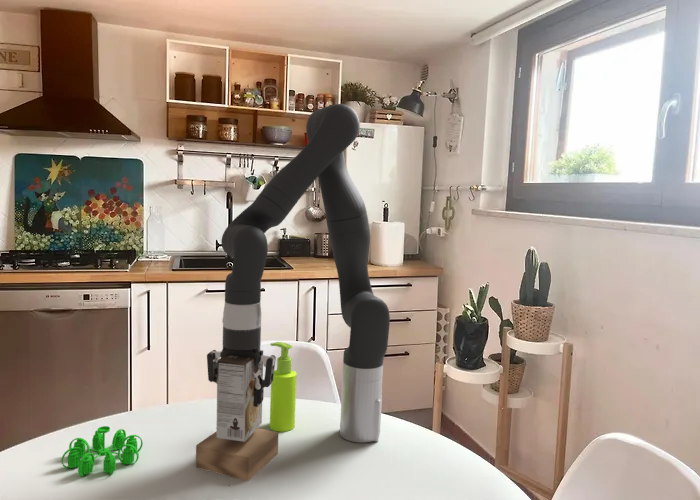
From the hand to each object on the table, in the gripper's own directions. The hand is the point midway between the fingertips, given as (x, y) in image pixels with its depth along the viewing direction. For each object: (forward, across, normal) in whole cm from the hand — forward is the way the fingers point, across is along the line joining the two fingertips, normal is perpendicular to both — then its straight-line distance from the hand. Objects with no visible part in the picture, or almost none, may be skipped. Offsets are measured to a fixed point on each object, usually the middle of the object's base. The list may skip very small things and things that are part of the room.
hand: (240, 403), depth 109 cm
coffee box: (+6, 0, 0) cm, 6 cm away
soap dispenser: (+12, -4, -18) cm, 22 cm away
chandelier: (+13, +26, +6) cm, 30 cm away
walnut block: (+13, 0, 0) cm, 13 cm away
